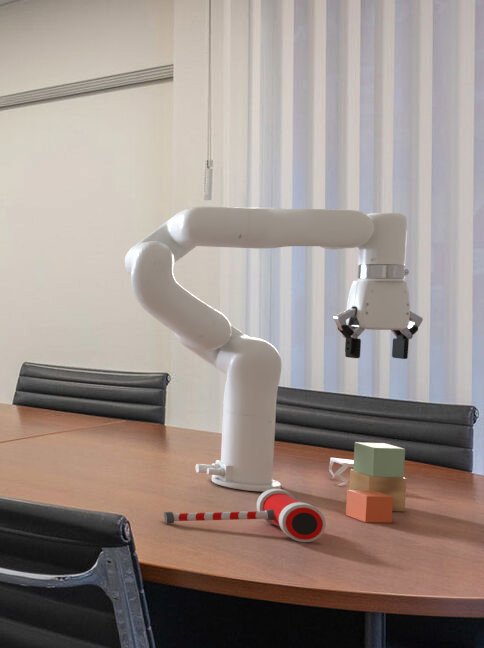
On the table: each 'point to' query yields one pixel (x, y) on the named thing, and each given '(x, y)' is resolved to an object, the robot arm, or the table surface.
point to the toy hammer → (271, 515)
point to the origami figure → (345, 465)
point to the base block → (381, 487)
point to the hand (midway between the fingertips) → (376, 357)
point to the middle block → (379, 459)
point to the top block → (369, 506)
